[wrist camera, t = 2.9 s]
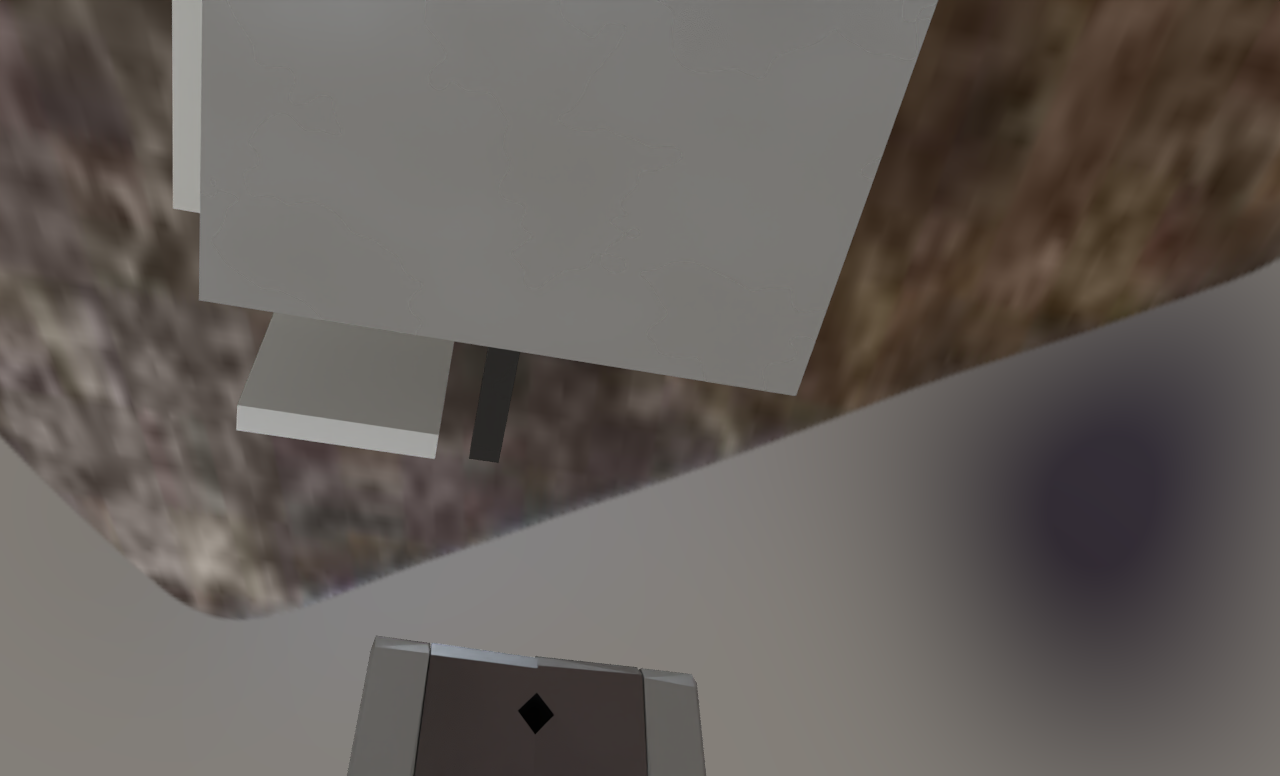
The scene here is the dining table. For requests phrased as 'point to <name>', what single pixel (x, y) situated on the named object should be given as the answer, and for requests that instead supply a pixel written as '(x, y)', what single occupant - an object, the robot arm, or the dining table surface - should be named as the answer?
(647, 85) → the pan
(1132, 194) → the dining table surface
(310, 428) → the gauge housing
